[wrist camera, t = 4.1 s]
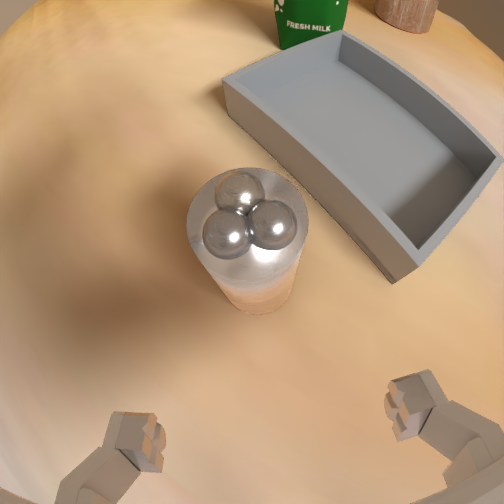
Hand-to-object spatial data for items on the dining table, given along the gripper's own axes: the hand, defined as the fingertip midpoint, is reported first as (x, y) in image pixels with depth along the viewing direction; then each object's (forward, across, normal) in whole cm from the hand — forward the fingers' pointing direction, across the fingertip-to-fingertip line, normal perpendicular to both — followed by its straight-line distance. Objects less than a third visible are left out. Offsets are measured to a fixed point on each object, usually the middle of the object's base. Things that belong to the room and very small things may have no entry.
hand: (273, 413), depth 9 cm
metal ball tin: (+14, 0, +3) cm, 15 cm away
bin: (+22, -12, -5) cm, 26 cm away
